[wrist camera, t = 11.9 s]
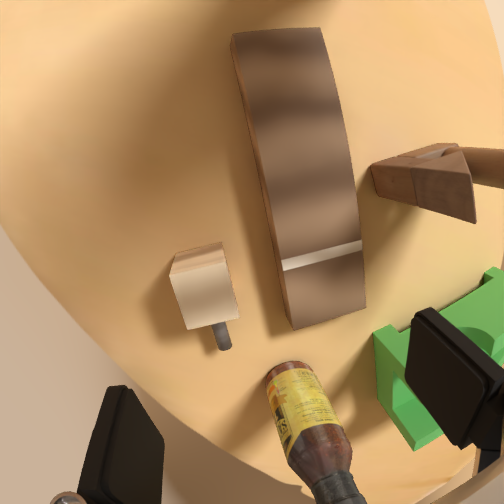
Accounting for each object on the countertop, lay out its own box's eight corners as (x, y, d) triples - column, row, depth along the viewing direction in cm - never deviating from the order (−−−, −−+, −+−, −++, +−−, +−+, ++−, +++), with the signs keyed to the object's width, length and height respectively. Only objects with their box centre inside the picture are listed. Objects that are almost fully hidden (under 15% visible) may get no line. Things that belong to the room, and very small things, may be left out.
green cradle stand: (376, 397, 39) (413, 451, 28) (371, 331, 35) (423, 388, 24) (485, 332, 40) (528, 364, 29) (492, 265, 36) (546, 293, 25)
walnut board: (229, 46, 23) (232, 33, 21) (309, 38, 24) (320, 27, 21) (286, 316, 32) (293, 330, 29) (353, 296, 33) (366, 308, 30)
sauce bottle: (256, 370, 34) (298, 522, 15) (305, 350, 34) (379, 490, 15) (273, 403, 36) (316, 537, 17) (318, 385, 36) (382, 510, 17)
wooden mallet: (368, 164, 29) (513, 181, 12) (438, 142, 29) (566, 151, 12) (376, 197, 30) (515, 241, 13) (444, 171, 30) (569, 196, 13)
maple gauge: (175, 253, 29) (168, 275, 23) (221, 241, 29) (225, 261, 23) (203, 339, 32) (204, 374, 26) (244, 330, 32) (252, 363, 26)
